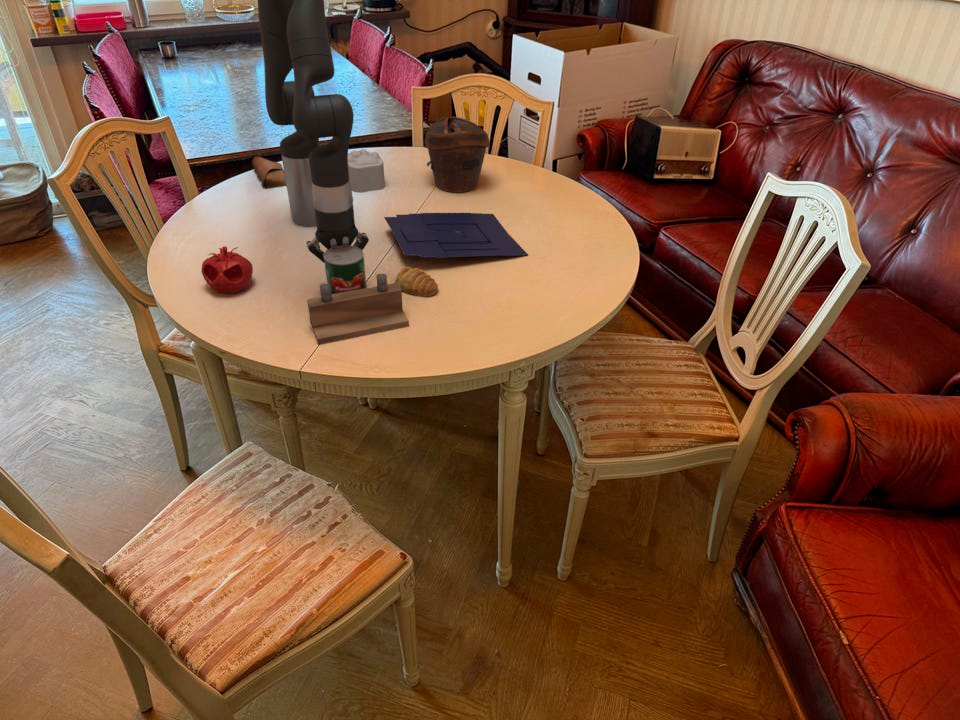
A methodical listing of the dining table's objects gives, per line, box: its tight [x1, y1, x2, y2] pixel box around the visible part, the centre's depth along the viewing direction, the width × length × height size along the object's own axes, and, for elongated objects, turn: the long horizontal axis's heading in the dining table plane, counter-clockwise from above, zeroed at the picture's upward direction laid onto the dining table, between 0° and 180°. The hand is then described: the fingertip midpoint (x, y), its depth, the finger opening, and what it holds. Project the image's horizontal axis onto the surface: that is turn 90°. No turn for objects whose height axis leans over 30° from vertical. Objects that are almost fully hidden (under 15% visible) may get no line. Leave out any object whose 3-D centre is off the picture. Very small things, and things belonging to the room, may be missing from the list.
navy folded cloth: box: [383, 212, 529, 259], centre depth 152 cm, size 24×30×4 cm
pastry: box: [394, 266, 439, 297], centre depth 134 cm, size 9×7×4 cm
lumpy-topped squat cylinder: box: [348, 148, 386, 193], centre depth 177 cm, size 10×13×9 cm
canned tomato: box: [323, 244, 368, 295], centre depth 126 cm, size 8×8×11 cm
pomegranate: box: [200, 246, 254, 294], centre depth 130 cm, size 10×10×9 cm
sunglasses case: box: [251, 156, 287, 190], centre depth 180 cm, size 18×7×7 cm
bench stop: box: [306, 273, 410, 345], centre depth 121 cm, size 8×18×9 cm, turn 113°
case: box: [424, 116, 491, 193], centre depth 176 cm, size 18×20×18 cm
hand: (342, 278), depth 132 cm, fingers closed
